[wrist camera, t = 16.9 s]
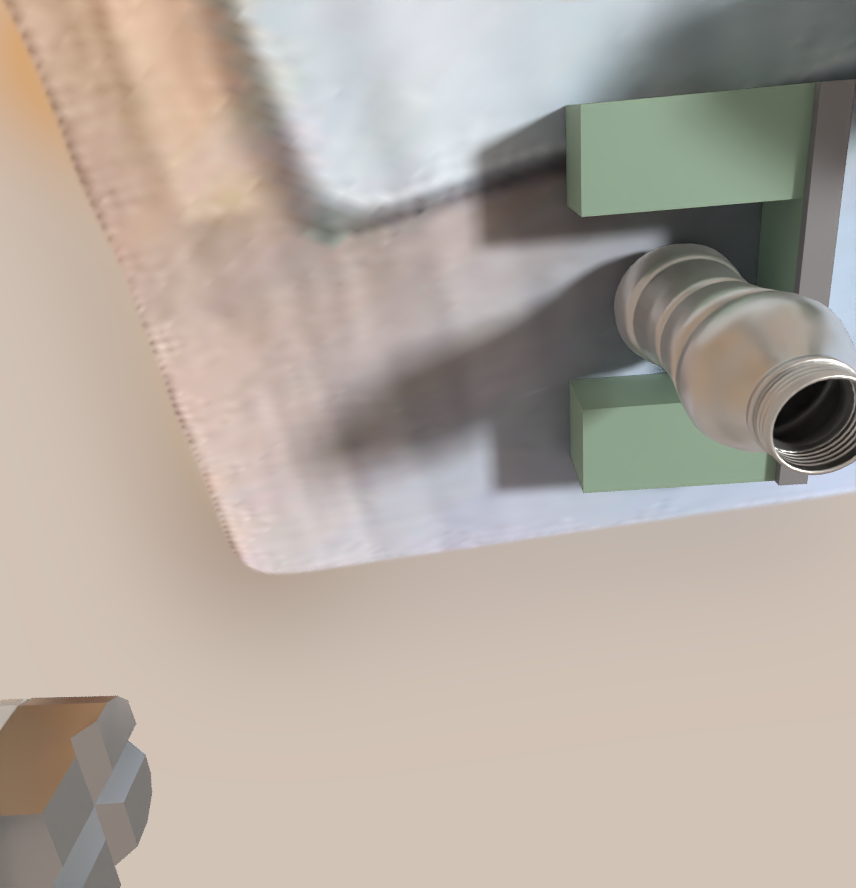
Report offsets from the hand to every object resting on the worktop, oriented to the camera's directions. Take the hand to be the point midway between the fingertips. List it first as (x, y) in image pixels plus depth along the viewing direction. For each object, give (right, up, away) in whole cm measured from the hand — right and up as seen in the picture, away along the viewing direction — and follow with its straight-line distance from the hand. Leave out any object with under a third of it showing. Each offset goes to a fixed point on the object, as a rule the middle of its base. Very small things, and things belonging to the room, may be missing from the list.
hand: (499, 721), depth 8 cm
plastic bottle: (+13, +12, +35) cm, 39 cm away
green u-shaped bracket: (+13, +12, +35) cm, 39 cm away
